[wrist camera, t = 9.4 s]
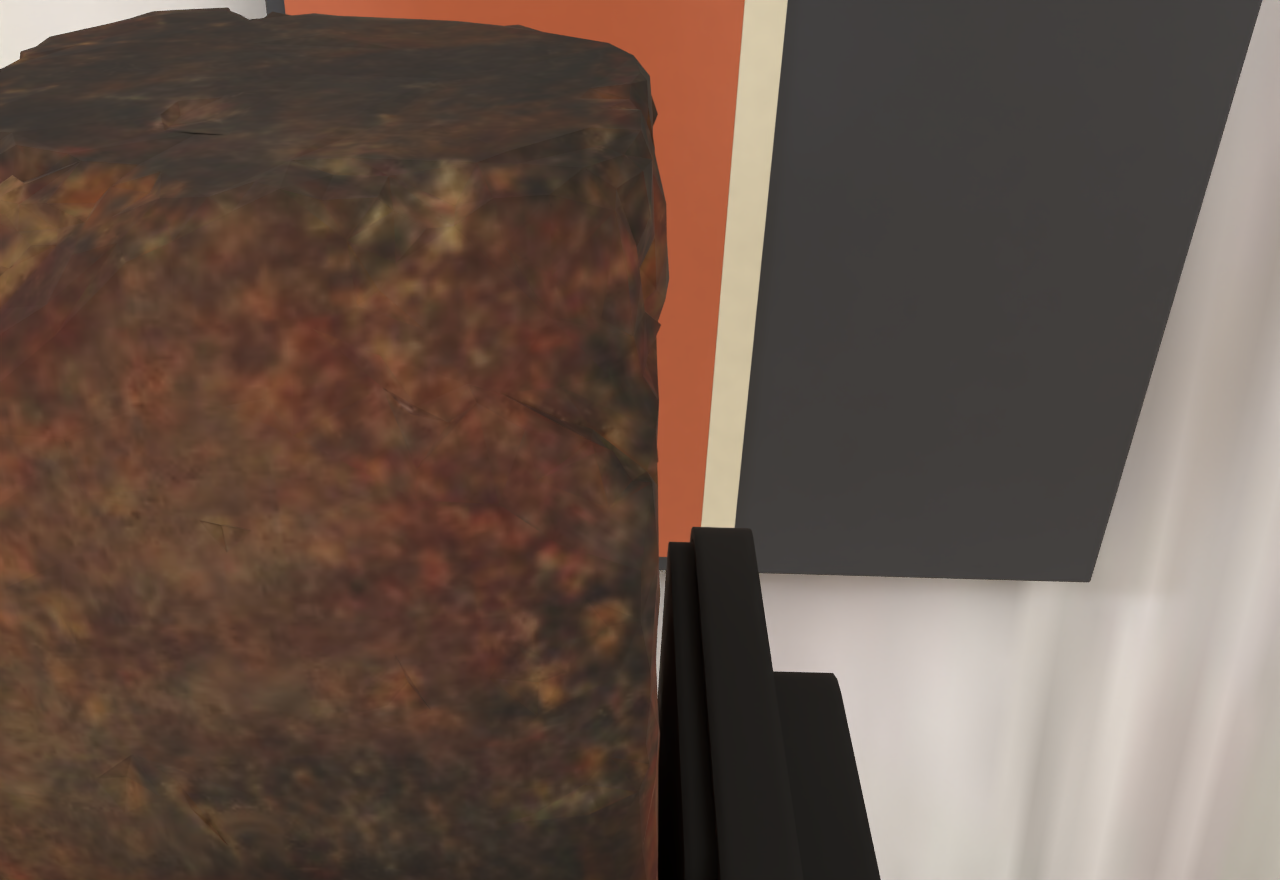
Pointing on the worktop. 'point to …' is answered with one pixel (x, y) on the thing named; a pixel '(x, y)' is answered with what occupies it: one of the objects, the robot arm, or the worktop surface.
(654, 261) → the brick
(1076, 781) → the worktop surface
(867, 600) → the worktop surface
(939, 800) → the worktop surface
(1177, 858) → the worktop surface
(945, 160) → the board
